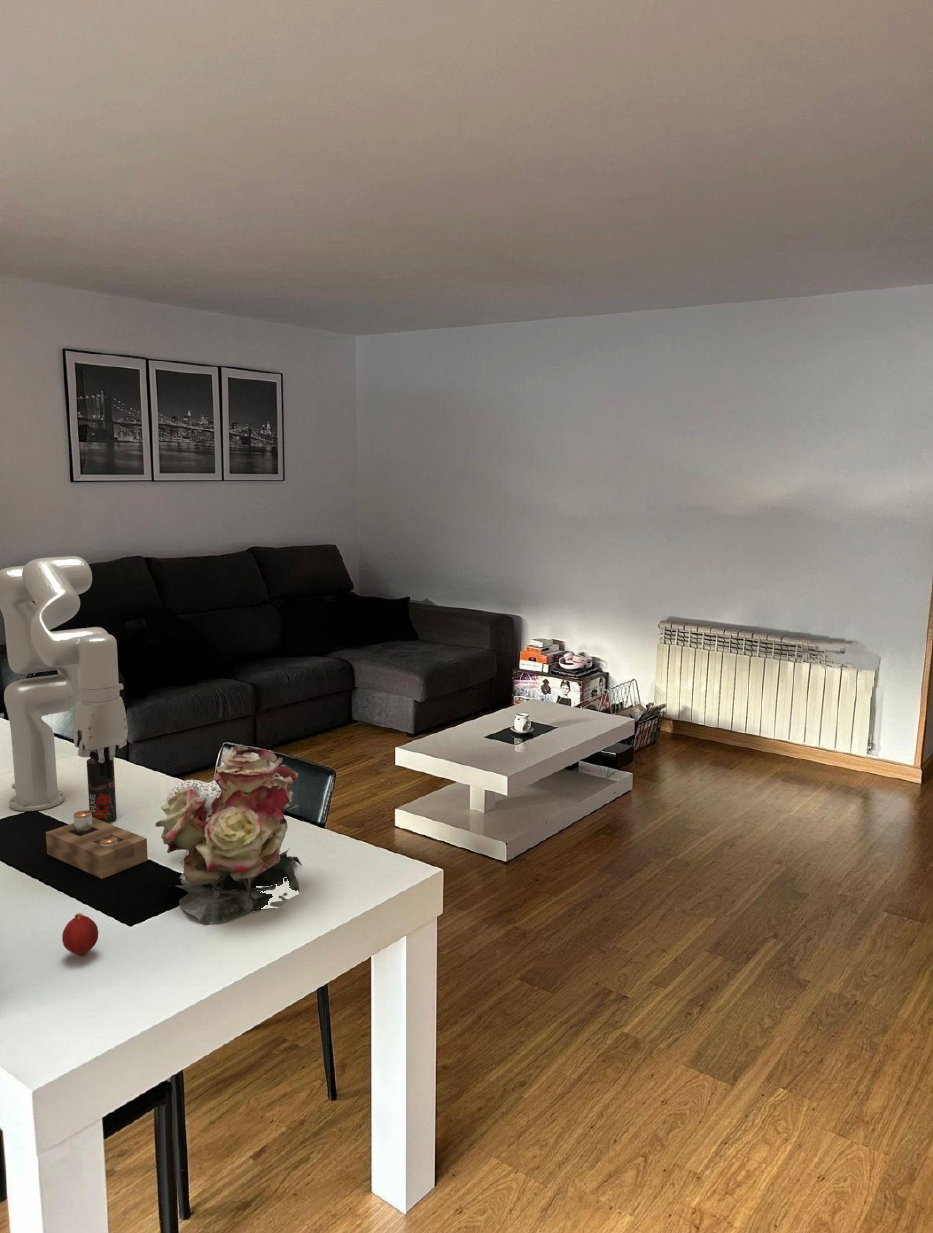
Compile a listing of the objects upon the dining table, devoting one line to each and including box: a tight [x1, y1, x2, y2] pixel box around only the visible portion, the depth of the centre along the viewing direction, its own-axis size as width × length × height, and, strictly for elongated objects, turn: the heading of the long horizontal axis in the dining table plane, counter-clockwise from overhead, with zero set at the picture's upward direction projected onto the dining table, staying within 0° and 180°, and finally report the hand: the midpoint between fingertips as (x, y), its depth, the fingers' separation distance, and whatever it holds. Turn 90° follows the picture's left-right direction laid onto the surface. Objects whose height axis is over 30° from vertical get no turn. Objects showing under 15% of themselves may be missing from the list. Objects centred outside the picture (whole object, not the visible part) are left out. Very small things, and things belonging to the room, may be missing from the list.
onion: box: [61, 912, 99, 957], centre depth 160 cm, size 6×6×8 cm
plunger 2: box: [99, 836, 118, 847], centre depth 196 cm, size 4×4×5 cm
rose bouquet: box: [154, 743, 303, 926], centre depth 181 cm, size 26×29×30 cm
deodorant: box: [86, 757, 118, 824], centre depth 218 cm, size 6×6×15 cm
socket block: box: [45, 817, 149, 880], centre depth 199 cm, size 20×11×5 cm, turn 55°
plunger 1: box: [73, 809, 93, 836], centre depth 201 cm, size 4×4×5 cm
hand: (104, 777), depth 194 cm, fingers closed
